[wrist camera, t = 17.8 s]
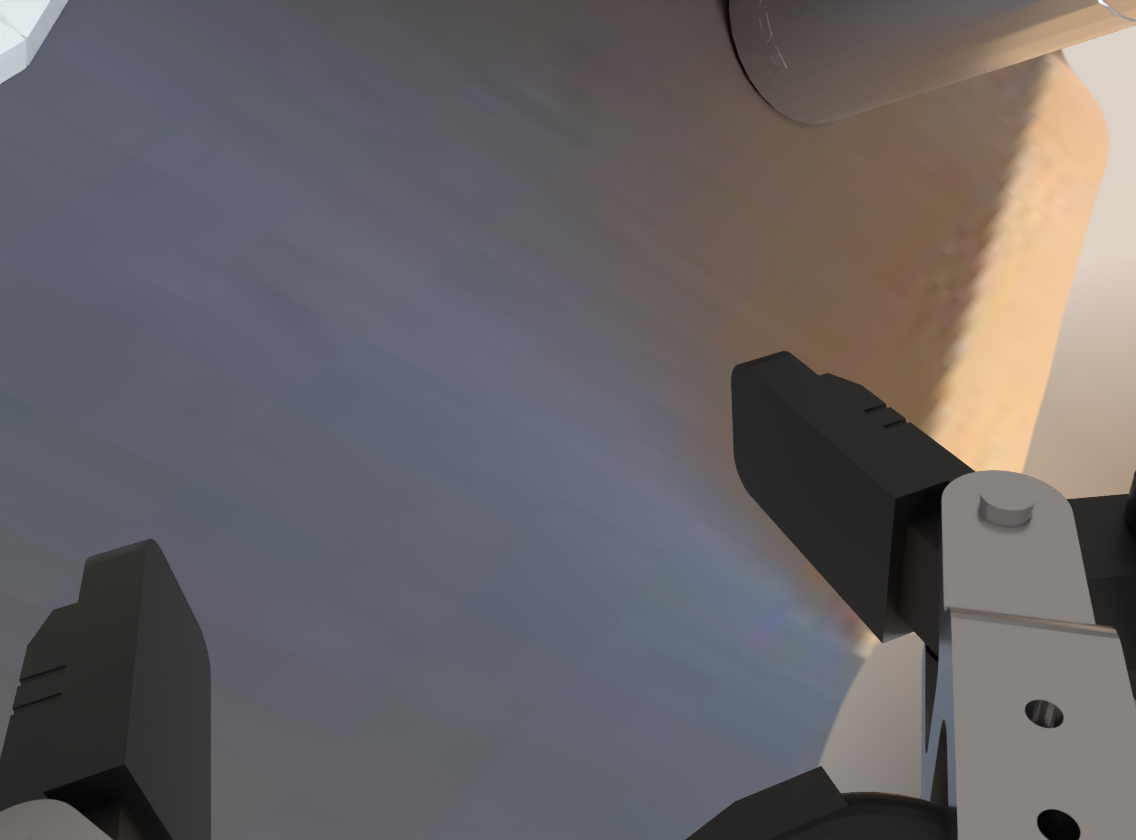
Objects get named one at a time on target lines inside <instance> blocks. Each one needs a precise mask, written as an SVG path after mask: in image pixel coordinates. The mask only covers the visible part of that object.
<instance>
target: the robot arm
mask: <svg viewBox="0 0 1136 840" xmlns="http://www.w3.org/2000/svg"><path fill="white" fill-rule="evenodd" d="M729 15H730V22H731V29H732V35H733V38H734V42H735V45H736V48H737V52H738V55H739V58H740V60H741V62H742V64H743V66H744V68H745V71H746V73H747V75H748V77H749V79H750V80H751V81H752V83H753V84H754V86H755V87H756V89H757V90H758V92H759V93H760V94H761V96H762V97H763V98H764V99H765V100H766V101H767V102H768V103H769V104H770V105H771V106H772V107H773V108H774V109H776V110H777V111H779V112H780V113H782V114H783V115H785V116H787V117H788V118H790V119H792V120H795V121H798V122H801V123H804V124H817V125H821V124H825V123H829V122H832V121H836V120H839V119H842V118H845V117H849V116H852V115H855V114H858V113H861V112H864V111H868V110H871V109H874V108H877V107H880V106H883V105H887V104H890V103H893V102H897V101H900V100H903V99H907V98H910V97H913V96H916V95H919V94H922V93H925V92H928V91H932V90H935V89H938V88H941V87H944V86H947V85H950V84H953V83H957V82H960V81H963V80H966V79H969V78H972V77H975V76H978V75H982V74H985V73H988V72H991V71H994V70H997V69H1000V68H1003V67H1007V66H1010V65H1013V64H1016V63H1019V62H1022V61H1025V60H1029V59H1032V58H1035V57H1038V56H1041V55H1044V54H1047V53H1050V52H1054V51H1057V50H1060V49H1063V48H1066V47H1069V46H1072V45H1075V44H1079V43H1082V42H1085V41H1088V40H1091V39H1094V38H1097V37H1100V36H1104V35H1106V34H1110V33H1113V32H1116V31H1119V30H1122V29H1125V28H1129V27H1132V26H1135V25H1136V0H729ZM731 390H732V417H733V445H734V458H735V464H736V468H737V471H738V474H739V476H740V479H741V481H742V483H743V485H744V487H745V489H746V490H747V492H748V493H749V494H750V496H751V497H752V498H753V499H754V500H755V501H756V502H757V503H758V505H759V506H760V507H761V508H762V509H763V510H764V511H765V512H766V514H767V515H768V516H769V517H770V518H771V519H772V520H773V521H774V523H775V524H776V525H777V526H778V527H779V528H780V529H781V530H782V531H783V533H784V534H785V535H786V536H787V537H788V538H789V539H790V540H791V542H792V543H793V544H794V545H795V546H796V547H797V548H798V549H799V550H800V552H801V553H802V554H803V555H804V556H805V557H806V558H807V559H808V561H809V562H810V563H811V564H812V565H813V566H814V567H815V568H816V569H817V571H818V572H819V573H820V574H821V575H822V576H823V577H824V578H825V580H826V581H827V582H828V583H829V584H830V585H831V586H832V587H833V588H834V590H835V591H836V592H837V593H838V594H839V595H840V596H841V597H842V599H843V600H844V601H845V602H846V603H847V604H848V605H849V606H850V608H851V609H852V610H853V611H854V612H855V613H856V614H857V615H858V616H859V618H860V619H861V620H862V621H863V622H864V623H865V624H866V625H867V627H868V628H869V629H870V630H871V631H872V632H873V633H874V634H875V635H876V637H877V638H878V639H879V640H880V641H881V642H882V643H885V642H887V641H890V640H893V639H896V638H898V637H901V636H903V635H906V634H909V633H911V632H915V633H916V634H917V635H918V636H919V637H920V638H921V639H922V640H923V641H924V648H923V656H922V775H921V796H920V797H921V798H920V799H919V798H914V797H909V796H905V795H900V794H890V793H880V792H850V793H842V794H841V793H840V792H839V791H838V789H837V788H836V786H835V785H834V783H833V782H832V780H831V779H830V778H829V776H828V775H827V773H826V772H825V770H824V769H823V768H822V766H820V767H818V768H815V769H813V770H811V771H808V772H806V773H803V774H801V775H798V776H796V777H794V778H791V779H789V780H786V781H784V782H781V783H779V784H777V785H774V786H772V787H769V788H767V789H764V790H762V791H760V792H757V793H755V794H752V795H750V796H747V797H745V798H743V799H740V800H738V801H735V802H734V803H733V804H731V805H730V806H729V807H727V808H726V809H725V810H723V811H722V812H721V813H720V814H718V815H717V816H716V817H714V818H713V819H712V820H710V821H709V822H708V823H707V824H705V825H704V826H703V827H701V828H700V829H699V830H697V831H696V832H695V833H694V834H692V835H691V836H690V837H688V838H687V839H686V840H1136V708H1135V703H1134V699H1135V700H1136V471H1135V474H1134V478H1133V481H1132V485H1131V489H1130V492H1129V494H1122V495H1110V496H1099V497H1088V498H1077V499H1066V498H1065V497H1064V496H1063V495H1062V494H1061V493H1060V492H1059V491H1057V490H1056V489H1055V488H1053V487H1052V486H1050V485H1048V484H1046V483H1045V482H1043V481H1041V480H1038V479H1036V478H1033V477H1030V476H1027V475H1024V474H1020V473H1015V472H1009V471H997V470H989V471H978V472H975V471H974V470H973V469H971V468H970V467H969V466H967V465H966V464H965V463H963V462H962V461H961V460H959V459H958V458H957V457H955V456H954V455H953V454H952V453H950V452H949V451H948V450H946V449H945V448H944V447H942V446H941V445H940V444H938V443H937V442H936V441H934V440H933V439H932V438H930V437H929V436H928V435H926V434H925V433H924V432H923V431H921V430H920V429H919V428H917V427H916V426H915V425H913V424H912V423H911V422H910V423H906V420H905V418H904V417H903V416H901V415H900V414H899V413H897V412H896V411H895V410H894V409H892V408H891V407H889V408H887V407H886V403H884V402H883V401H882V400H880V399H879V398H878V397H876V396H875V395H874V394H872V393H871V392H870V391H868V390H867V389H866V388H865V387H863V386H862V385H860V384H857V383H854V382H851V381H849V380H846V379H843V378H840V377H837V376H835V375H832V374H829V373H826V374H823V375H820V376H819V375H817V374H816V373H815V372H814V371H812V370H811V369H810V368H809V367H807V366H806V365H805V364H804V363H802V362H801V361H800V360H799V359H797V358H796V357H795V356H794V355H792V354H791V353H789V352H787V351H781V352H778V353H775V354H771V355H768V356H765V357H761V358H758V359H755V360H751V361H748V362H745V363H741V364H738V365H736V366H735V367H734V369H733V372H732V377H731ZM19 680H20V683H21V686H18V687H17V692H16V696H15V700H14V704H13V710H14V715H11V717H10V721H9V725H8V729H7V733H6V737H5V741H4V746H3V750H2V754H1V758H0V840H211V673H210V662H209V656H208V651H207V647H206V644H205V640H204V637H203V634H202V631H201V629H200V626H199V624H198V622H197V620H196V618H195V616H194V614H193V612H192V610H191V608H190V606H189V604H188V602H187V600H186V598H185V596H184V594H183V592H182V590H181V588H180V586H179V584H178V582H177V580H176V578H175V576H174V574H173V572H172V570H171V568H170V566H169V564H168V562H167V560H166V558H165V556H164V554H163V552H162V550H161V548H160V547H159V545H158V544H157V543H156V542H155V541H154V540H153V539H148V540H144V541H141V542H138V543H134V544H131V545H128V546H124V547H121V548H117V549H114V550H111V551H107V552H104V553H101V554H97V555H94V556H91V557H89V558H88V559H87V560H86V563H85V567H84V573H83V578H82V583H81V589H80V594H79V600H78V603H75V604H71V605H68V606H65V607H62V608H58V609H55V610H53V611H52V612H51V614H50V615H49V616H48V618H47V619H46V621H45V622H44V623H43V625H42V626H41V628H40V629H39V630H38V632H37V633H36V635H35V636H34V637H33V639H32V640H31V641H30V643H29V644H28V646H27V650H26V654H25V658H24V663H23V667H22V671H21V675H20V679H19ZM1133 698H1134V699H1133Z"/></svg>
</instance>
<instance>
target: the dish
mask: <svg viewBox="0 0 1136 840" xmlns="http://www.w3.org/2000/svg"><path fill="white" fill-rule="evenodd" d="M67 2H68V0H0V84H1V83H2V82H4V81H6V80H7V79H9V78H10V77H12V76H14V75H15V74H17V73H19V72H20V71H22V70H24V69H25V68H26V65H27V66H29V64H30V62H31V61H32V59H33V57H34V56H35V54H36V52H37V51H38V49H39V48H40V46H41V44H42V43H43V41H44V39H45V38H46V36H47V34H48V33H49V31H50V30H51V28H52V26H53V25H54V23H55V21H56V20H57V18H58V16H59V15H60V13H61V12H62V10H63V8H64V7H65V5H66V3H67Z"/></svg>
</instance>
